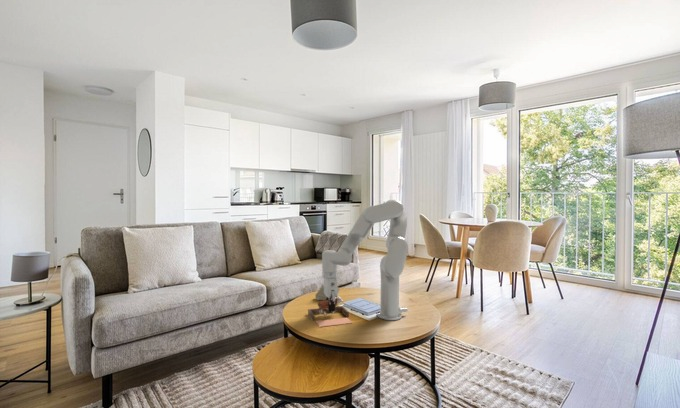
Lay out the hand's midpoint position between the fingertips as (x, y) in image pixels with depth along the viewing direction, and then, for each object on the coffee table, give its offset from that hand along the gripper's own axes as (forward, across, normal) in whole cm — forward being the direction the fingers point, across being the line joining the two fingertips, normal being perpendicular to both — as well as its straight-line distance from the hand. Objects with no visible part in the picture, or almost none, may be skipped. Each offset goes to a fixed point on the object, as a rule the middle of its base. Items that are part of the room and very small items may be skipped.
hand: (330, 309), depth 165 cm
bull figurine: (+2, 0, 0) cm, 2 cm away
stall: (+3, +1, +1) cm, 4 cm away
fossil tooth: (+4, +27, -6) cm, 28 cm away
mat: (+4, -9, +1) cm, 10 cm away
